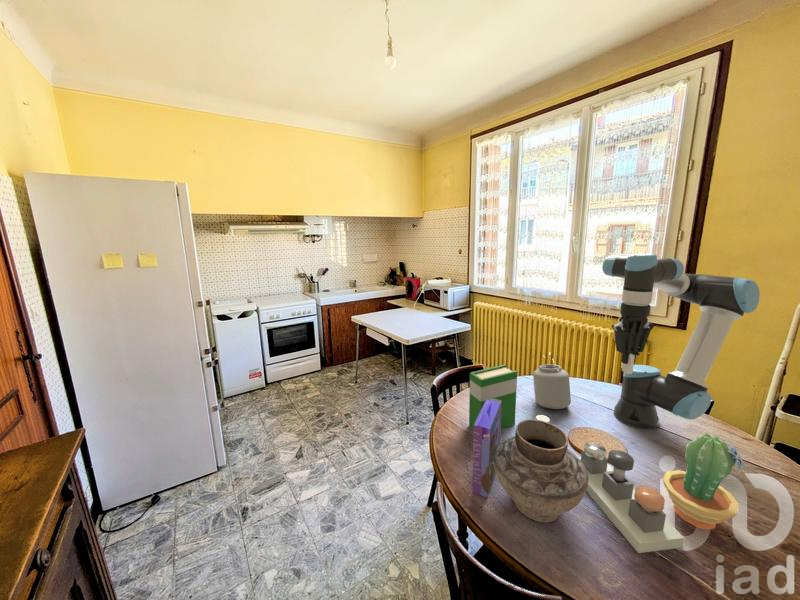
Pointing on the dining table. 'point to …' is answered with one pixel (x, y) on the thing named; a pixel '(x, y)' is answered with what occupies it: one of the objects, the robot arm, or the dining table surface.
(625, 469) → the middle plunger
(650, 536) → the console
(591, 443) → the plunger
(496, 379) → the hardback book
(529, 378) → the dining table surface
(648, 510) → the terracotta plunger
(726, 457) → the potted cactus
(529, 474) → the ceramic pot
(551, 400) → the jar
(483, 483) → the cereal box
